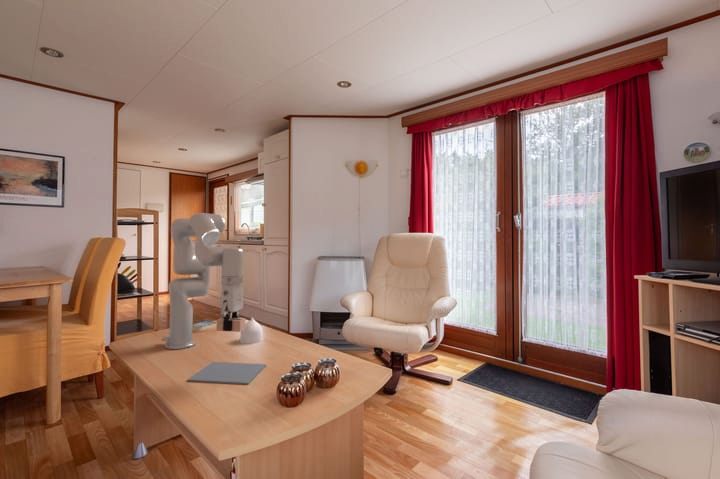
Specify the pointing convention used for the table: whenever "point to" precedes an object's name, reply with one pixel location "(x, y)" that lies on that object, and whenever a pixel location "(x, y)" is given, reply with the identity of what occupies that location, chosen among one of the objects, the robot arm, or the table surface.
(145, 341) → the table surface
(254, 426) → the table surface
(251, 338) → the white rounded dome
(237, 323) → the pinkish tan grooved block
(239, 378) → the mat
